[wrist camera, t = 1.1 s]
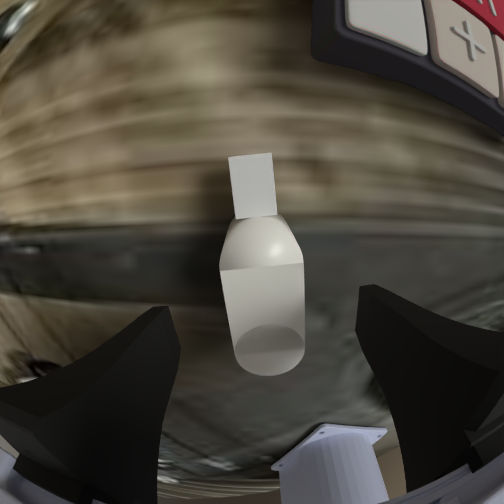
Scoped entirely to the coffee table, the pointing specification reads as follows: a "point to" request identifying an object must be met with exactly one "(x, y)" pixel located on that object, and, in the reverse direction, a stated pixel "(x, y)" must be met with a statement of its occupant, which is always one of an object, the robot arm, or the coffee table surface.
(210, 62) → the coffee table surface
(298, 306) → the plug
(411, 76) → the calculator
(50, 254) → the coffee table surface
